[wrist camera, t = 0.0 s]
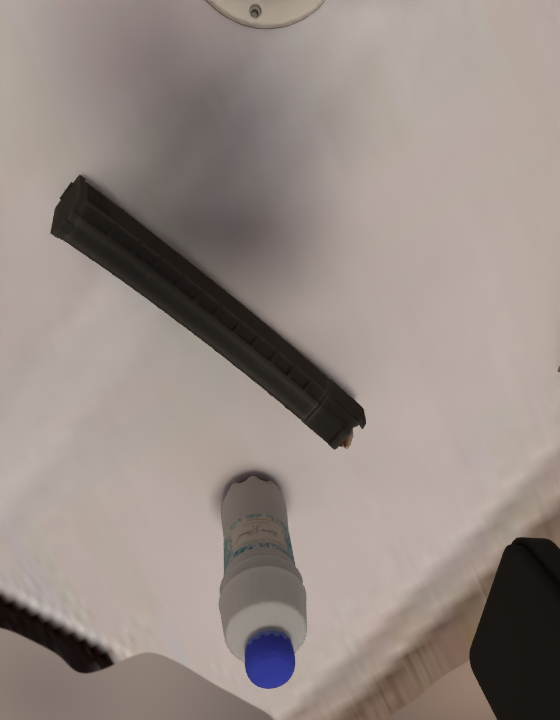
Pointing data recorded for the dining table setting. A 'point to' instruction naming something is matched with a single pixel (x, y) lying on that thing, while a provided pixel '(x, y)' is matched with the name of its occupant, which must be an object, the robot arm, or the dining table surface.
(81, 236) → the magazine
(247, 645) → the bottle
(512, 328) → the dining table surface
